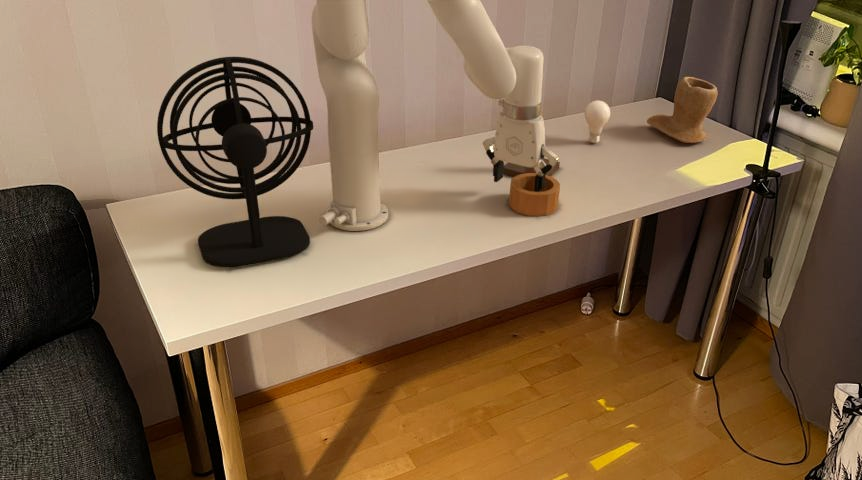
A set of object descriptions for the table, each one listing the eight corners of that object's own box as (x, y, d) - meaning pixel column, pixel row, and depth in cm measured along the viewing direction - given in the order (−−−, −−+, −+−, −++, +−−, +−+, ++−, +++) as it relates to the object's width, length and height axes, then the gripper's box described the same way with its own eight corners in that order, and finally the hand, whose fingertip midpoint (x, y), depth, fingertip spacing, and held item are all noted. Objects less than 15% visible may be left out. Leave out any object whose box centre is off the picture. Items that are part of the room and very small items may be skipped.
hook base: (541, 184, 177) (541, 177, 176) (501, 173, 181) (502, 167, 180) (559, 168, 184) (559, 162, 184) (521, 158, 188) (521, 152, 187)
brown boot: (717, 142, 202) (729, 85, 194) (682, 149, 197) (693, 91, 189) (678, 121, 213) (688, 67, 205) (644, 128, 208) (653, 72, 200)
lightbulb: (579, 145, 196) (583, 103, 190) (583, 136, 202) (588, 95, 196) (604, 149, 195) (609, 107, 189) (608, 140, 200) (613, 98, 194)
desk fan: (313, 210, 162) (298, 41, 143) (336, 251, 149) (324, 70, 130) (175, 233, 152) (140, 54, 133) (187, 279, 139) (151, 87, 120)
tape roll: (545, 220, 162) (547, 199, 160) (500, 207, 166) (502, 186, 164) (565, 201, 170) (567, 180, 167) (522, 189, 174) (524, 169, 172)
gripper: (475, 106, 160) (474, 182, 169) (553, 123, 153) (547, 201, 162) (493, 95, 165) (491, 169, 175) (568, 111, 158) (562, 187, 168)
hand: (518, 184), depth 168 cm, fingers open, 9 cm apart
